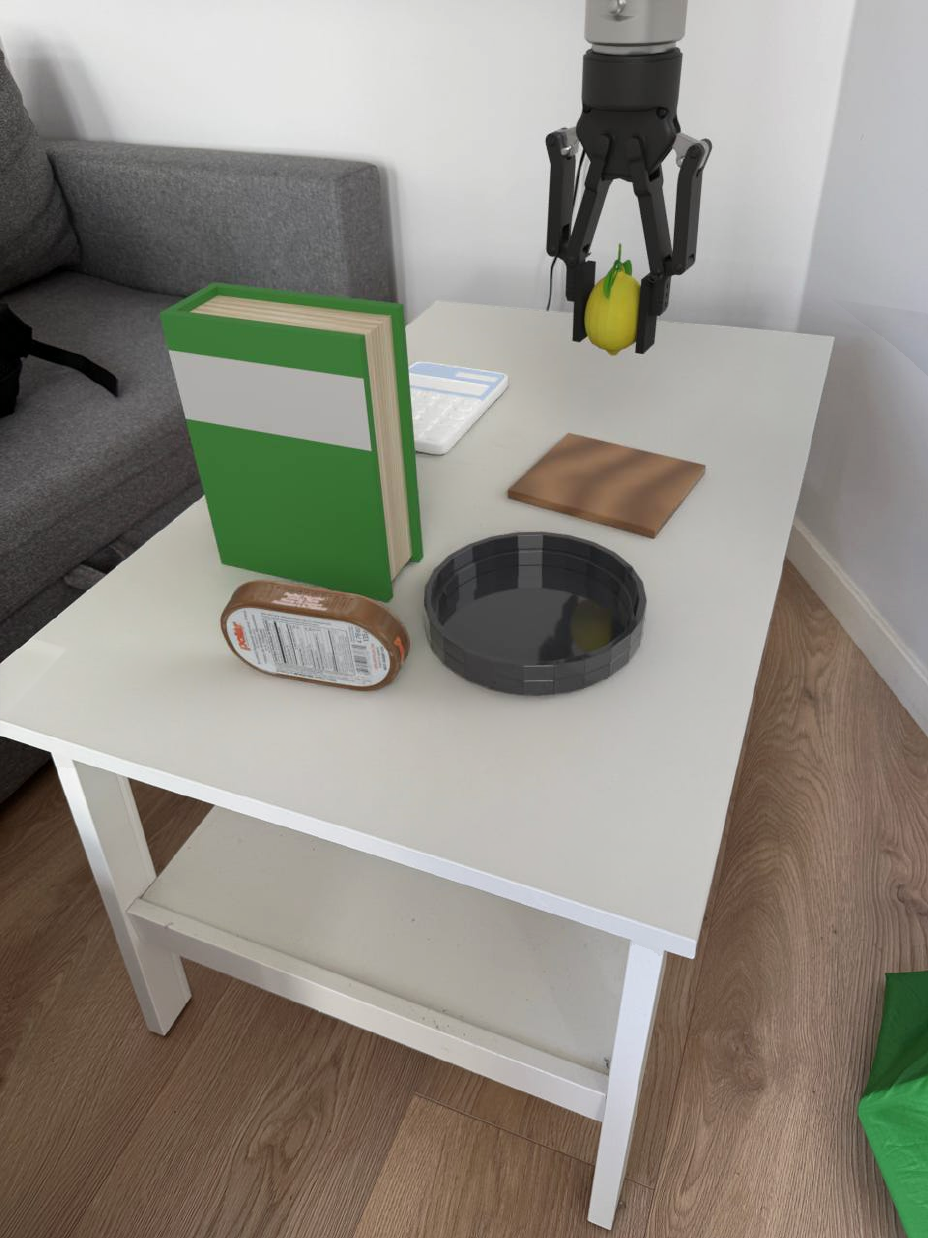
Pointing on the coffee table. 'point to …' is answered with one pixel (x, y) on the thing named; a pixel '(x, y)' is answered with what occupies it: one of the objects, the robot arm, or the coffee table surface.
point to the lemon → (614, 309)
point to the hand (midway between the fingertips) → (613, 341)
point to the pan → (534, 612)
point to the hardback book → (301, 432)
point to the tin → (315, 635)
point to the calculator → (449, 402)
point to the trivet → (609, 484)
